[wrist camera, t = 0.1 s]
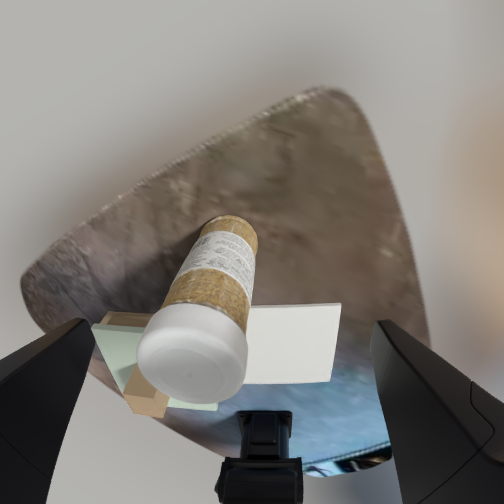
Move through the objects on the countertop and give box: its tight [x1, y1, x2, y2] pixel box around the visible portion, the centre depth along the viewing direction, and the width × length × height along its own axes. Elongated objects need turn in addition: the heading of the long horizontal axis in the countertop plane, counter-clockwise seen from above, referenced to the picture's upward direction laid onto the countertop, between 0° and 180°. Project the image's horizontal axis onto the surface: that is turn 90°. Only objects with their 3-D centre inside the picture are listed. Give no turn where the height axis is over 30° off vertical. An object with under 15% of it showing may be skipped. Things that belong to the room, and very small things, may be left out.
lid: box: [91, 323, 218, 418], centre depth 24 cm, size 11×11×5 cm
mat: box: [243, 303, 341, 384], centre depth 27 cm, size 10×10×1 cm
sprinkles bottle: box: [136, 215, 258, 404], centre depth 17 cm, size 5×5×14 cm
